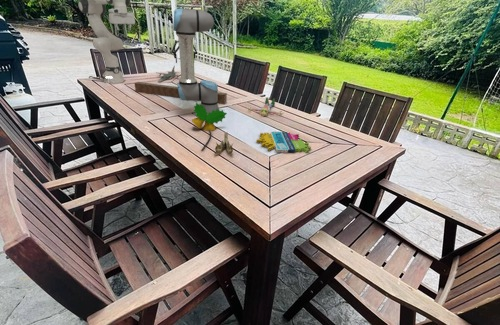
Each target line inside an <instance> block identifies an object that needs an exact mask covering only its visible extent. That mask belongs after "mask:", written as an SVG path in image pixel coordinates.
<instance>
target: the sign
mask: <svg viewBox="0 0 500 325" xmlns="http://www.w3.org/2000/svg"><path fill="white" fill-rule="evenodd" d="M299 136H300V135H299V134H298V133H296V134H294V133H291V132H287V131H270V132H264V133H263V132H260V133H259V139H258V138H257V139H256V143H257V144H261V148H263V147H264V148H265V149H267V151H268V152H271V151H272V150H273V149H275V152H276V153H283V154H285V153H287V154H288V153H290V154H293V153H296V152H298V153H301V152H305V153H310V151H311V150H312V149H311V148H312V146H309V142H304V141H303V139H302V138H299Z"/></svg>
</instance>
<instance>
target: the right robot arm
mask: <svg viewBox="0 0 500 325" xmlns="http://www.w3.org/2000/svg"><path fill="white" fill-rule="evenodd" d="M214 25H215V20H214V17H213V15H212V14H210V13H209V12H207V11H205V10H201V9H188V8H175V9H174V10H173V24H172V30H173V31H174V32H175V35H176V37H178V40H177V39H175V40H174V44H173V46H172V49H171V51H170V52H171V54H173V58H174V59H175V63H176V64H178V57H177V52H178V51H179V63H180V75H181V76H180V78H179V79H178V82H176V87H178V92H179V96H180V98H179V99H180V100H181V101H185V102H190V101H193V102H194V101H198V102H200V104H201V106H204V109H206V112H208V113H211V112H212V110H214V111H216V110H217V109H219V111H221V110H220V108H219V104H218V92H219V88H218V84H217V83H216V82H215V81H213V80H207V79H202V80H200V81H199V82H198V80H197V79H196V77H195V76H196V75H195V59H196V55H198V51H197V49H196V47H195V45H194V38H195V37H196V33H204V32H207V31H210V30H211V29H213V27H214ZM177 44H178V46H177ZM208 113H207V115H208ZM208 132H209V138H208V140H207V142H206V143H205V145H203V147H202V149H201V151H202V152H203V151H204V150H205V148H206V147H207V146H208V144H209V142H210V141H211V139H212V131H210V130H209V131H208Z"/></svg>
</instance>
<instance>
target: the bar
mask: <svg viewBox="0 0 500 325" xmlns="http://www.w3.org/2000/svg"><path fill="white" fill-rule="evenodd" d="M134 89H135V92H136V93H141V94H147V95H148V94H149V95H154V96H155V95H156V96H163V97H169V98H175V99H176V98H177V99H180V96H179V92H178V86H174V85H167V84H166V85H165V84H160V83H159V84H158V83H151V82H145V81H135V82H134ZM227 94H228V93H227V92H221V91H220V92H219V91H218V105H226V104H227Z"/></svg>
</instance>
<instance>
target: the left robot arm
mask: <svg viewBox="0 0 500 325" xmlns="http://www.w3.org/2000/svg"><path fill="white" fill-rule="evenodd" d="M77 3H78V4H77V6H78V9H79V10H80V13H82V14H85V15H87V14H88V16H87V20H88V23H89V25H90V27H91V29H92V30H93V33H94V34H95V36H96V37H95V38H93V40H92V46H93V48H94V49H95V50H96V51H98V52H99V53H100V54H101V56H102V57H103V59H104V64H105V71H104V72H103V73H102V75H100V76H98V77H96V76H92V75H89V76H88V78H89V79H90V78H93V79H96V80H100V79H101V81H102V82H104V83H105V84H121V83H123V82H124V81H126V79H125V78H124V75H123V72H122V71H121V67H120V64H119V59H118V57H117V56H116V54H115V55H114V54H112V52H111V51H119V50H122V49H123V47H124V42H123V41H122V39H121V38H120V37H118V36H116V35H114V34H113V33H112V32H110V31H109V29H108V28H107V27H106V25H105V23H104V22H103V19H102V17H104V15H105V14H106V13H107V6H106V5H110V6H113V7H112V8H109V9H108V22H109V23H110V24H113V25H114V26H115V28H116V30H117V31H120V30H121V28H120V27H119V25H128V27H127V30H128V31H131V30H132V25H136V19H135V15H134V14H135V13H133V11H130V10H129V11H128V7H129V6H130V5H131V0H79V1H78V2H77Z"/></svg>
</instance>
